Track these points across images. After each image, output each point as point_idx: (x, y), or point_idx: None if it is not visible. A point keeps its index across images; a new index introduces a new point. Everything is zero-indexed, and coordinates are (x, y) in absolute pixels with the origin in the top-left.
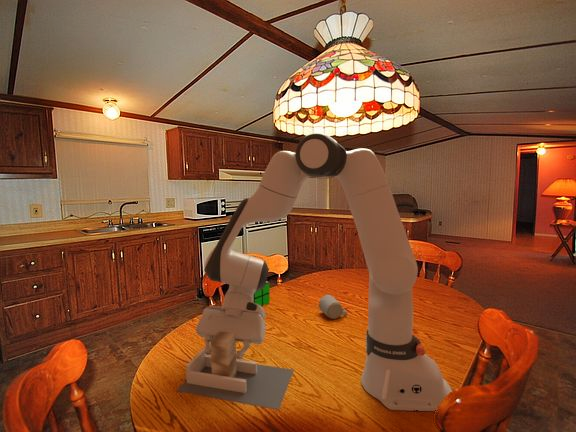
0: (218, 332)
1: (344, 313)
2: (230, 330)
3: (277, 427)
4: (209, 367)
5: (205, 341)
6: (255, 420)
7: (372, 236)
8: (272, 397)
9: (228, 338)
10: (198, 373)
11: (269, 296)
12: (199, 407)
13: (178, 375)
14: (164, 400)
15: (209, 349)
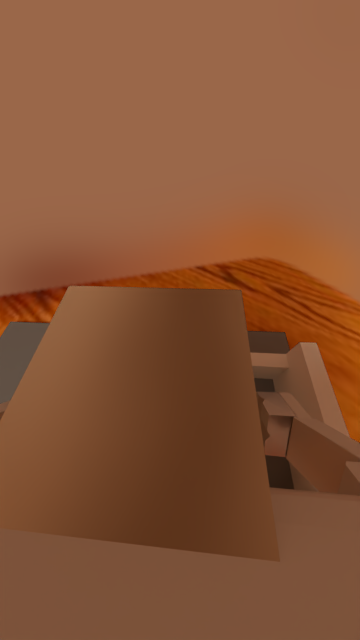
0: (260, 496)
1: None
2: (9, 601)
3: (27, 291)
4: (269, 484)
5: (358, 445)
6: None
7: None
8: (16, 355)
9: (64, 342)
10: (252, 358)
11: None
12: None
13: (351, 412)
14: (286, 309)
15: (264, 400)
